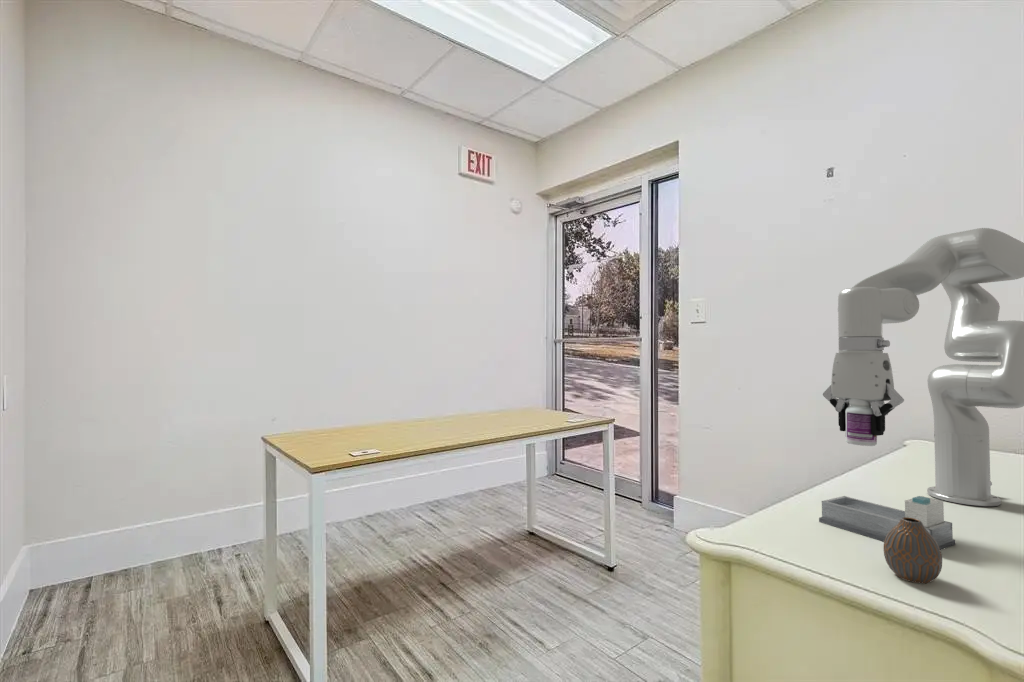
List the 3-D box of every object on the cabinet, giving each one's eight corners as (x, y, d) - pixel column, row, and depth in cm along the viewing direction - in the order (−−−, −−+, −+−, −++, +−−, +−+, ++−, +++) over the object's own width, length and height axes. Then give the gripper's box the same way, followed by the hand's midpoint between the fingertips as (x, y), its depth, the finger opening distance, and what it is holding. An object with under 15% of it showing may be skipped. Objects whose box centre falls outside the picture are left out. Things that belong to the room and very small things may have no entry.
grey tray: (847, 514, 102) (846, 474, 102) (955, 544, 86) (954, 497, 86) (819, 521, 97) (818, 480, 97) (927, 554, 81) (926, 505, 81)
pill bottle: (882, 447, 96) (882, 399, 97) (852, 445, 98) (852, 398, 98) (869, 442, 102) (868, 397, 102) (840, 441, 103) (840, 396, 103)
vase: (872, 568, 76) (871, 512, 76) (912, 566, 77) (911, 511, 77) (912, 589, 69) (911, 528, 69) (956, 587, 70) (954, 527, 70)
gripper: (918, 346, 94) (920, 438, 94) (829, 347, 110) (829, 426, 109) (897, 345, 91) (898, 440, 90) (808, 346, 106) (809, 428, 106)
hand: (861, 432), depth 100 cm, fingers closed on pill bottle, 5 cm apart
